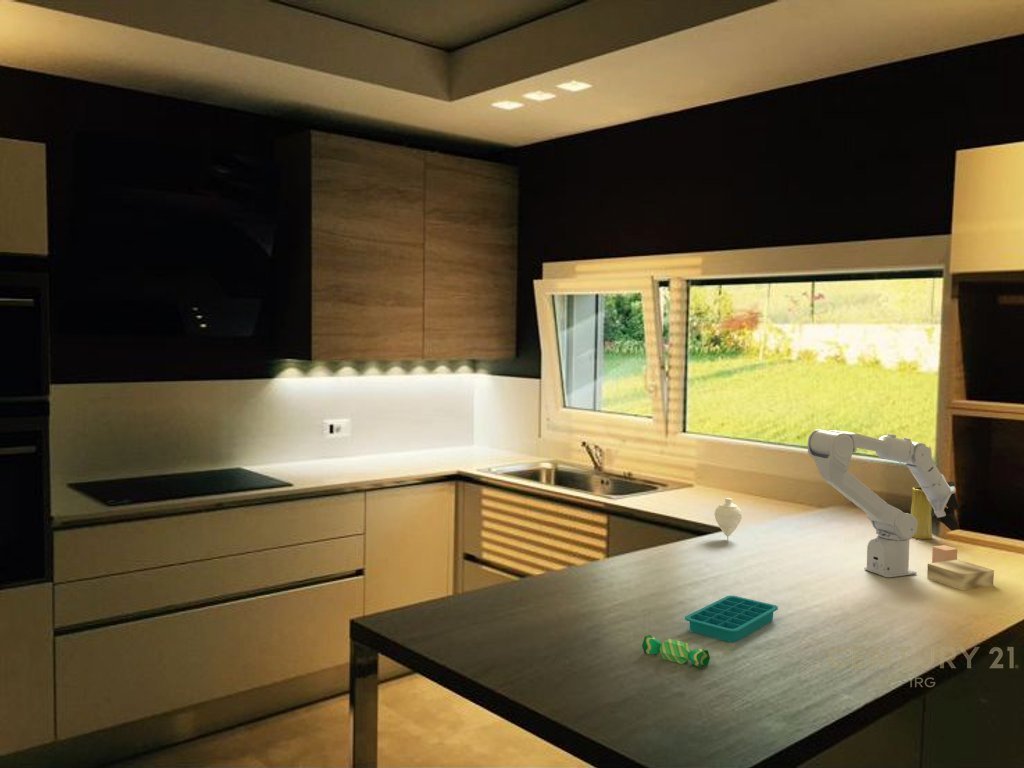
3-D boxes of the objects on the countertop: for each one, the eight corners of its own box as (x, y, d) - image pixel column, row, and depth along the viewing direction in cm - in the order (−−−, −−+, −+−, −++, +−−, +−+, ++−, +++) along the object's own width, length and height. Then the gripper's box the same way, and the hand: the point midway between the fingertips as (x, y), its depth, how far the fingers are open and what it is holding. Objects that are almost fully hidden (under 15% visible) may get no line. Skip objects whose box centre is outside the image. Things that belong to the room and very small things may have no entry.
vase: (927, 534, 252) (929, 486, 251) (935, 539, 246) (937, 490, 245) (905, 533, 253) (907, 486, 252) (913, 539, 247) (915, 490, 246)
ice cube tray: (681, 632, 173) (682, 617, 172) (729, 608, 188) (730, 594, 187) (734, 647, 165) (735, 631, 165) (780, 620, 180) (780, 606, 180)
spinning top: (708, 538, 248) (709, 497, 247) (729, 535, 251) (730, 494, 250) (725, 544, 241) (726, 502, 240) (747, 541, 244) (748, 499, 243)
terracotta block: (944, 569, 216) (945, 550, 216) (931, 565, 220) (932, 546, 220) (956, 568, 218) (957, 548, 217) (943, 564, 221) (944, 545, 221)
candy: (640, 651, 160) (646, 630, 161) (647, 656, 162) (654, 636, 164) (698, 668, 152) (704, 646, 154) (705, 673, 154) (711, 651, 156)
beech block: (962, 591, 200) (962, 574, 199) (927, 579, 209) (927, 563, 209) (993, 586, 203) (993, 570, 203) (957, 575, 212) (958, 559, 212)
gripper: (946, 494, 208) (972, 534, 211) (946, 457, 219) (970, 496, 222) (917, 501, 212) (943, 540, 216) (918, 465, 223) (943, 503, 227)
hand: (955, 518), depth 219 cm, fingers open, 7 cm apart
